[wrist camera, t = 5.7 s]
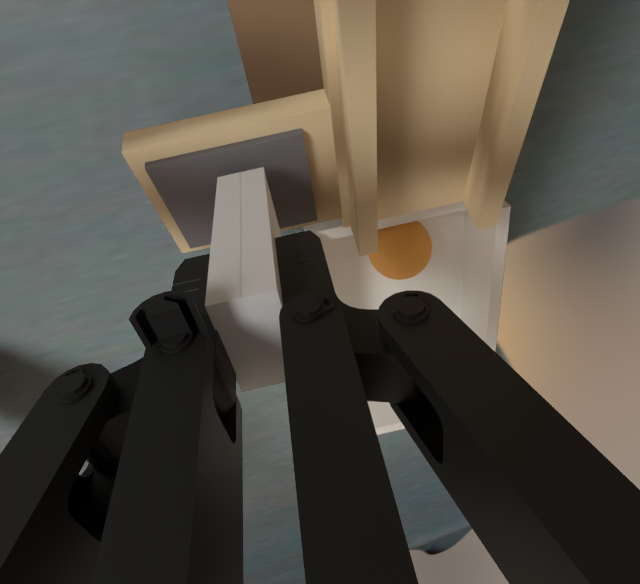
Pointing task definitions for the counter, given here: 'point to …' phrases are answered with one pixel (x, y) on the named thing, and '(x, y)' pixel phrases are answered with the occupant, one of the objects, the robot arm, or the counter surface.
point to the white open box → (426, 274)
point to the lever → (370, 121)
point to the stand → (278, 47)
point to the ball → (402, 250)
